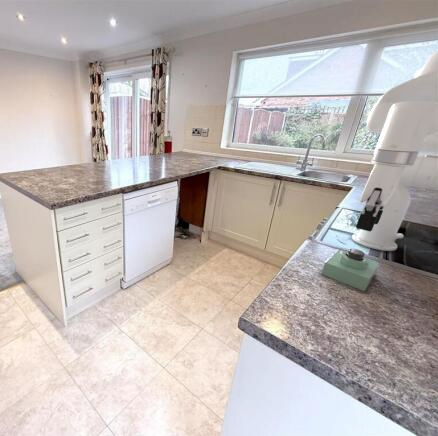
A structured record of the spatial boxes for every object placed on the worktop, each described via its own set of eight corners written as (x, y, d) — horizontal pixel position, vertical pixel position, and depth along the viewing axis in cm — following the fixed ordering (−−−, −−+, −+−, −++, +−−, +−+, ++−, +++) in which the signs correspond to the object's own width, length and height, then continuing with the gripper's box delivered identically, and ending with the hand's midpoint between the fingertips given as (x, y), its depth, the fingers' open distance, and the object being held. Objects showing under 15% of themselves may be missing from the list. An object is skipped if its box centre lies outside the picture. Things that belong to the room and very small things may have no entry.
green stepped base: (334, 260, 79) (340, 243, 76) (374, 274, 71) (382, 257, 69) (321, 273, 71) (327, 256, 69) (364, 291, 64) (372, 272, 62)
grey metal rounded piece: (348, 253, 72) (350, 247, 71) (363, 258, 69) (366, 252, 68) (344, 257, 70) (347, 251, 69) (360, 262, 67) (363, 256, 66)
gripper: (380, 153, 67) (357, 214, 73) (364, 159, 56) (340, 229, 63) (419, 156, 61) (391, 222, 68) (410, 163, 51) (378, 240, 58)
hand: (367, 225), depth 65 cm, fingers open, 6 cm apart
